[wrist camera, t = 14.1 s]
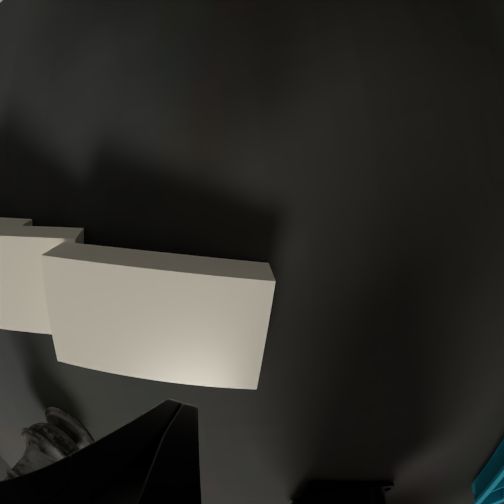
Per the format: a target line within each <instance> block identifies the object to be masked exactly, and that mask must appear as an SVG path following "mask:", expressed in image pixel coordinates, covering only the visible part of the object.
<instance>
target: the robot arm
mask: <svg viewBox="0 0 504 504" xmlns="http://www.w3.org/2000/svg"><path fill="white" fill-rule="evenodd" d="M393 489H394V483H393V482H330V481H309V482H307V483H306V485H305V487H304V488H303V490H302V492H301V494H300V495H299V497H297V498H295V499H294V500H293V501H292V503H291V504H386V501H385V498H386V497H387V496H388V495H389V494H390V493H391V492H392V491H393ZM0 504H201V488H200V467H199V439H198V407H197V406H195V405H191V404H187V403H183V404H182V402H180V401H176V400H173V399H166V400H164V401H163V402H161V403H160V404H158V405H156V406H155V407H153V408H152V409H150V410H148V411H147V412H145V413H143V414H142V415H140V416H138V417H137V418H135V419H133V420H132V421H130V422H128V423H126V424H125V425H123V426H121V427H120V428H118V429H116V430H114V431H113V432H111V433H109V434H107V435H105V436H104V437H102V438H100V439H98V440H96V441H95V442H93V443H91V444H89V445H87V446H85V447H84V448H82V449H80V450H78V451H76V452H74V453H72V454H71V456H70V455H68V456H66V457H64V458H62V459H60V460H58V461H56V462H54V463H52V464H50V465H47V466H45V467H43V468H40V469H38V470H35V471H32V472H29V473H27V474H23V475H20V476H17V477H14V478H10V479H7V480H3V481H0Z"/></svg>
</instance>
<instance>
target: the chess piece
mask: <svg viewBox="0 0 504 504" xmlns="http://www.w3.org/2000/svg"><path fill="white" fill-rule="evenodd" d="M45 415H46V419H47V422H48V423H37V424H34V425H32V426H30V427H29V428H23V429H22V430H21V436H22V439H23V441H24V443H25V445H26V450H25V453H24V455H23V457H22V458H21V459H20V460H19V462H18V463H17V464H16V465H15V466H14V467H13V468H12V469H6V472H7V474H8V476H7V477H6V479H4V480H7V479H10V478H14V477H17V476H20V475H23V474H27V473H29V472H32V471H35V470H38V469H40V468H43V467H45V466H47V465H50V464H52V463H54V462H56V461H58V460H60V459H62V458H64V457H66V456H68V455H70V456H71V454H72V453H74V452H76V451H78V450H80V449H82V448H84V447H85V446H87V445H89V444H91V443H93V442H94V440H93V438H92V436H91V435H90V433H89V432H88V431H87V430H86V429H85V428H84V427H83V426H82V425H81V424H80V423H79V422H78V421H77V420H76V419H75V418H74V417H72V416H71V415H69V414H68V413H66V412H65V411H63V410H61V409H59V408H56V407H49V408H47V409H46V412H45Z"/></svg>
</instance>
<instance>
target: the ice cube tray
mask: <svg viewBox="0 0 504 504" xmlns="http://www.w3.org/2000/svg"><path fill="white" fill-rule="evenodd" d="M472 490H473V494H474V498H475V501H474V502H473V503H472V504H499V503H502V502H504V438H503V440H502V442H501V443H500V445H499V446H498V448H497V449H496V451H495V453H494V454H493V456H492V457H491V458H490V460H489V461H488V463H487V464H486V466H485V467H484V468H483V470H482V471H481V473H480V474H479V475H478V477H477V478H476V479H475V480H474V482H473V484H472Z"/></svg>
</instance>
